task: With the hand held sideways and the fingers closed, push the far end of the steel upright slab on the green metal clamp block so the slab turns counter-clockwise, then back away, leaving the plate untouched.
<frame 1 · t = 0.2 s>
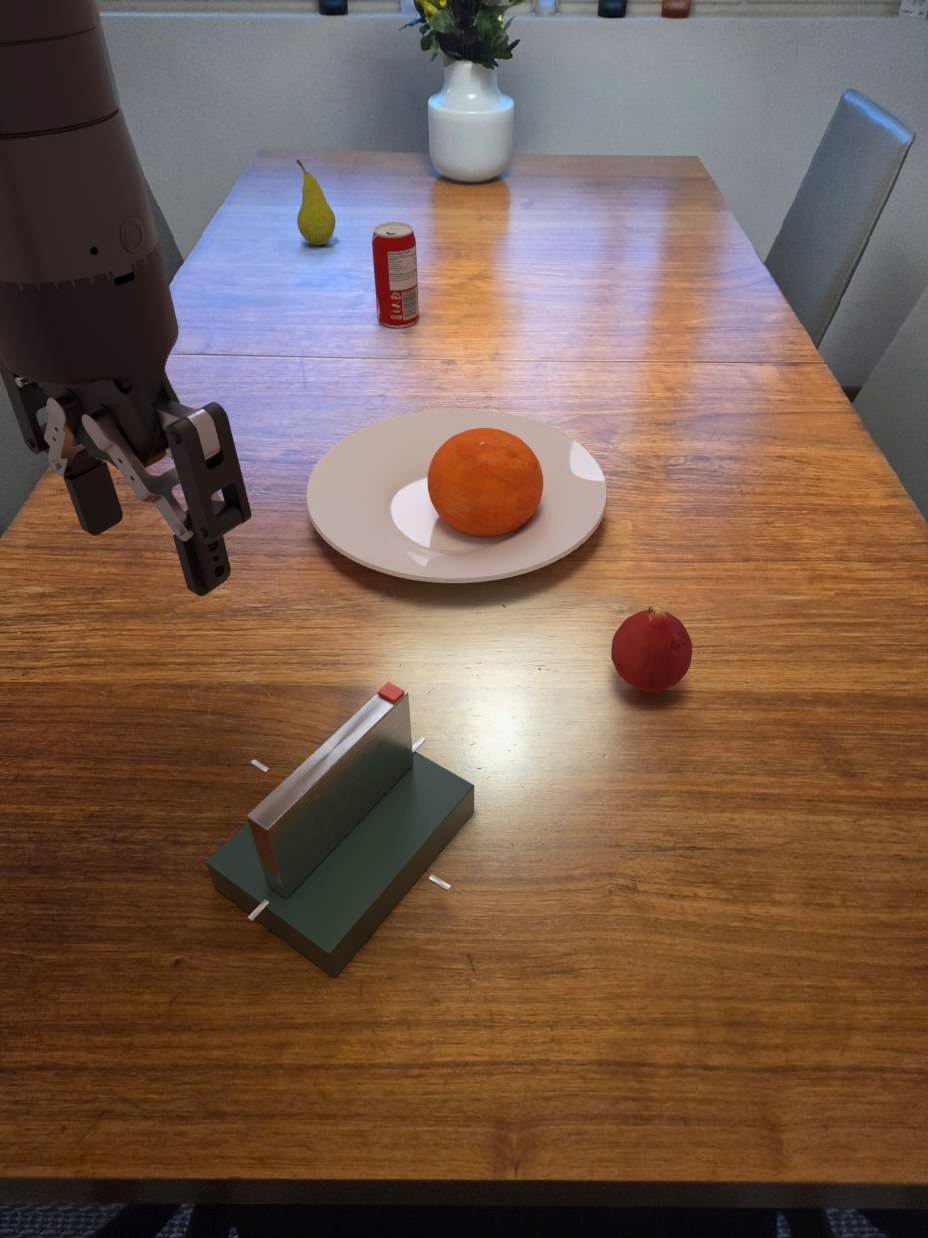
hand: (155, 555, 46), 20 cm above the table, tool pointing down, fingers open, 8 cm apart
plate: (456, 514, 84), on the table
clamp block: (349, 848, 56), on the table
fruit: (319, 245, 137), on the table
soda can: (398, 321, 116), on the table
upright slab: (338, 786, 52), point 7 cm above the table, hinge at 0.0°
onion: (644, 687, 67), on the table
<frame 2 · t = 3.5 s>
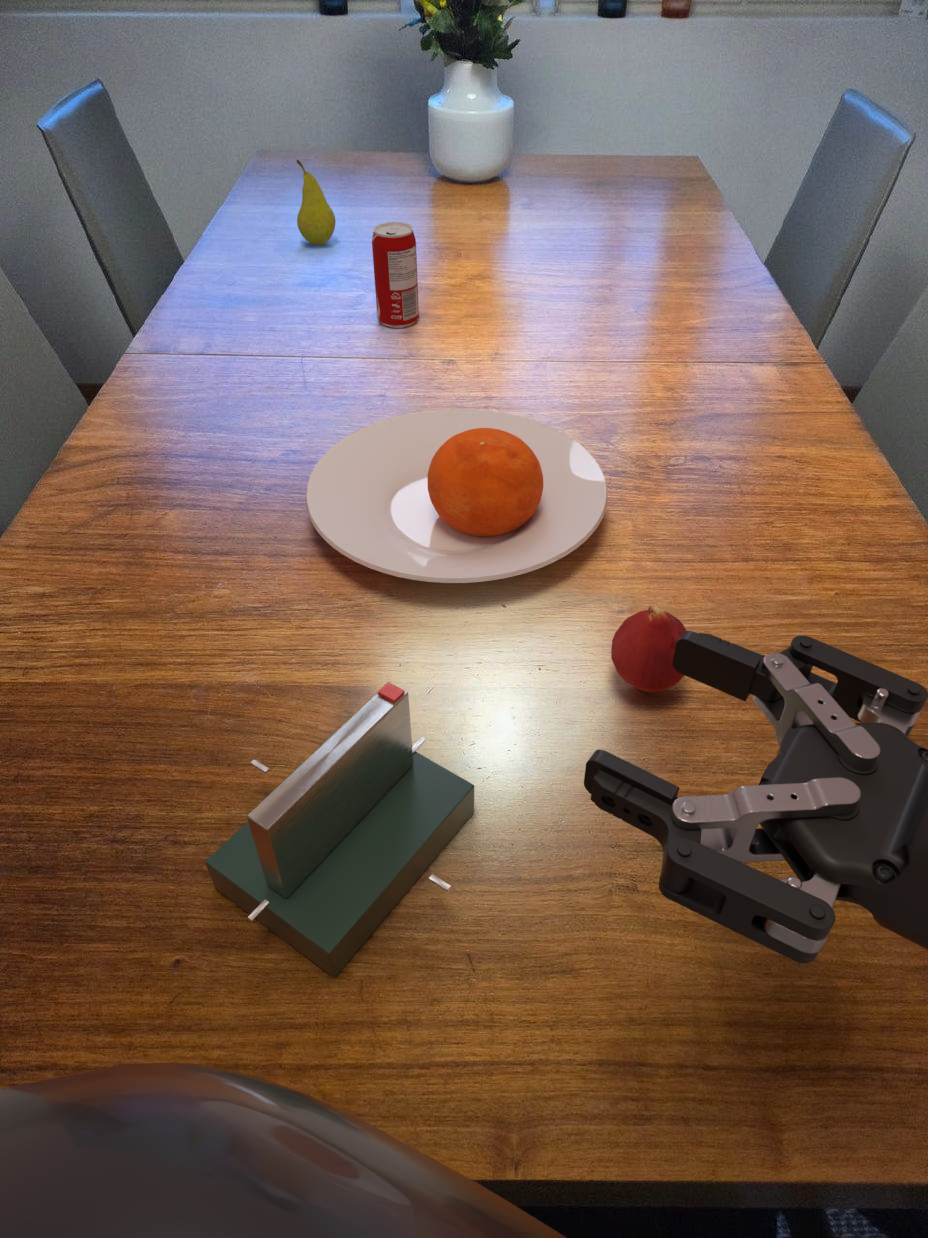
hand: (635, 704, 39), 20 cm above the table, tool horizontal, fingers open, 8 cm apart
nothing on the table moved.
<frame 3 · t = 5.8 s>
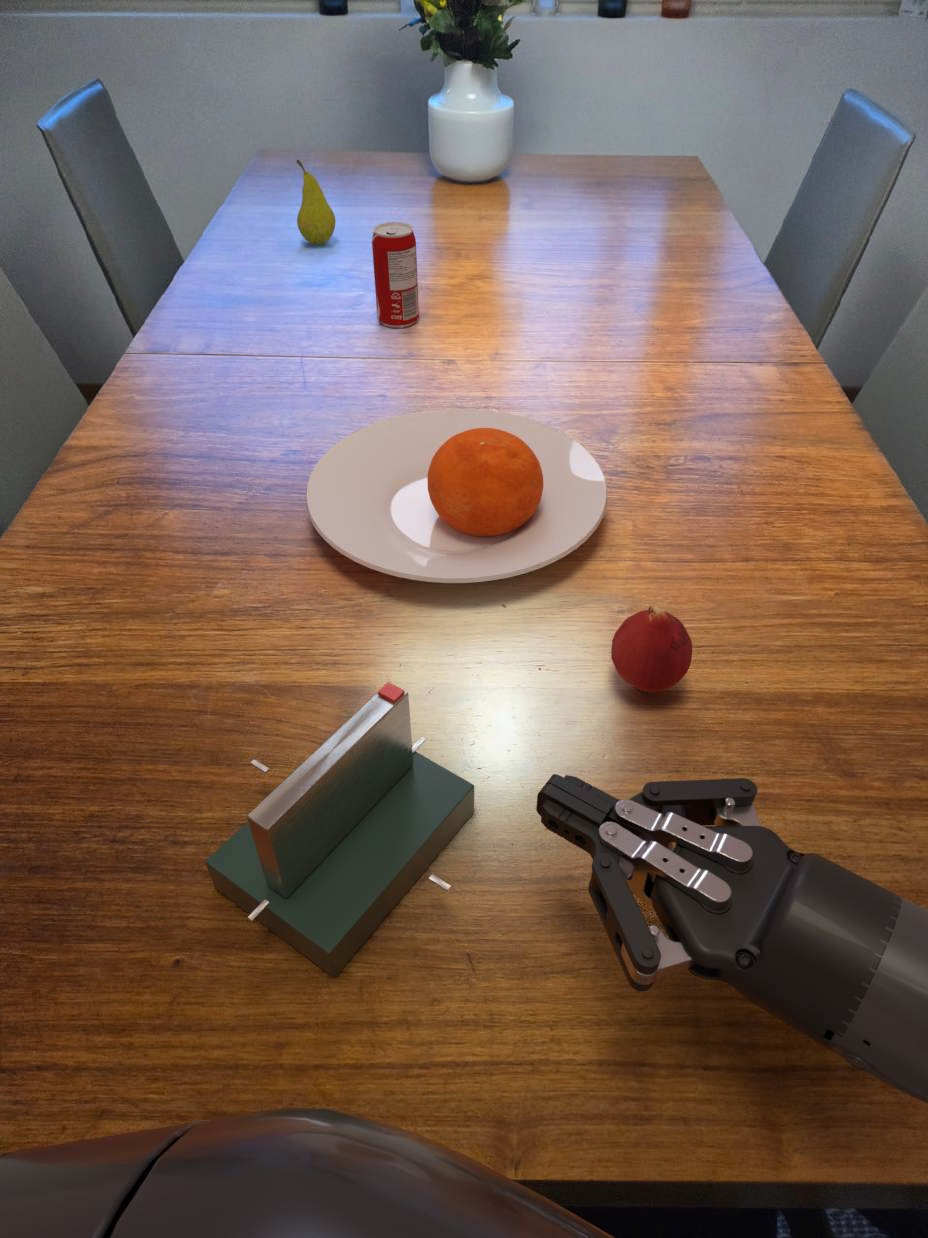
hand: (544, 793, 47), 11 cm above the table, tool horizontal, fingers closed
nothing on the table moved.
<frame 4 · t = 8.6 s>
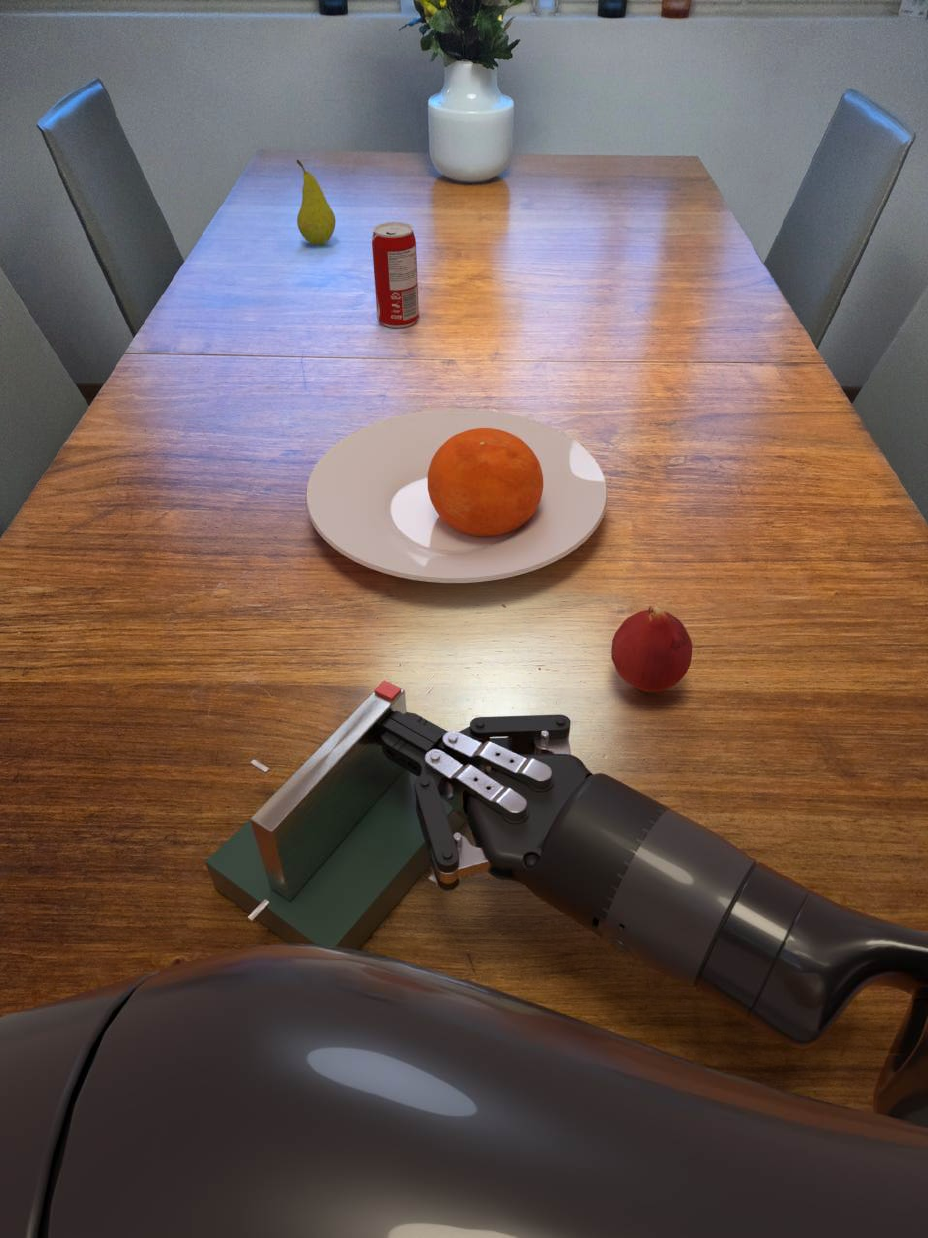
hand: (387, 727, 53), 8 cm above the table, tool horizontal, fingers closed
upright slab: (338, 786, 52), point 7 cm above the table, hinge at 2.8°, touching gripper
everything else where it was.
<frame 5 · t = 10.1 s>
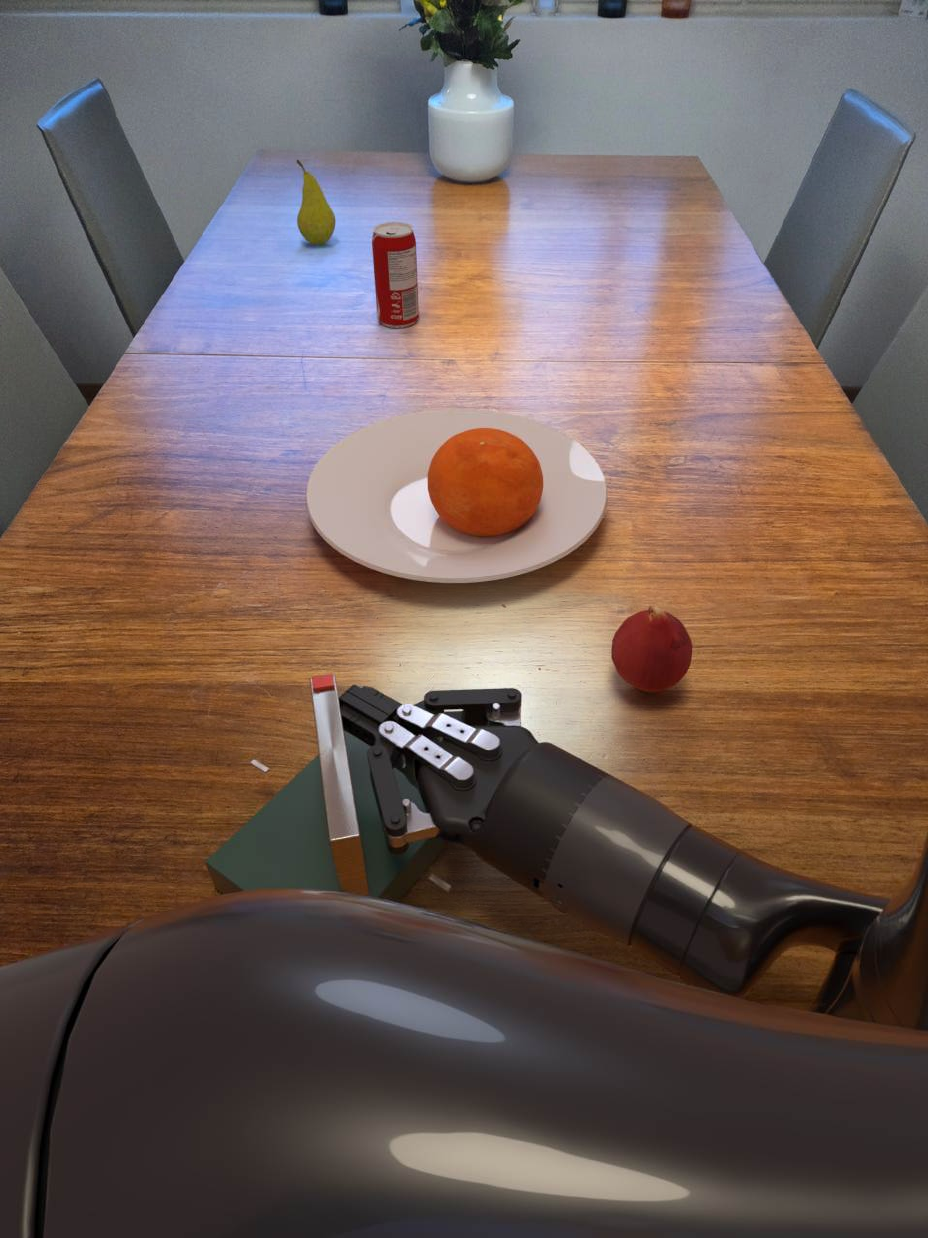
hand: (345, 701, 55), 8 cm above the table, tool horizontal, fingers closed
upright slab: (338, 786, 52), point 7 cm above the table, hinge at 48.0°, touching gripper
everything else where it was.
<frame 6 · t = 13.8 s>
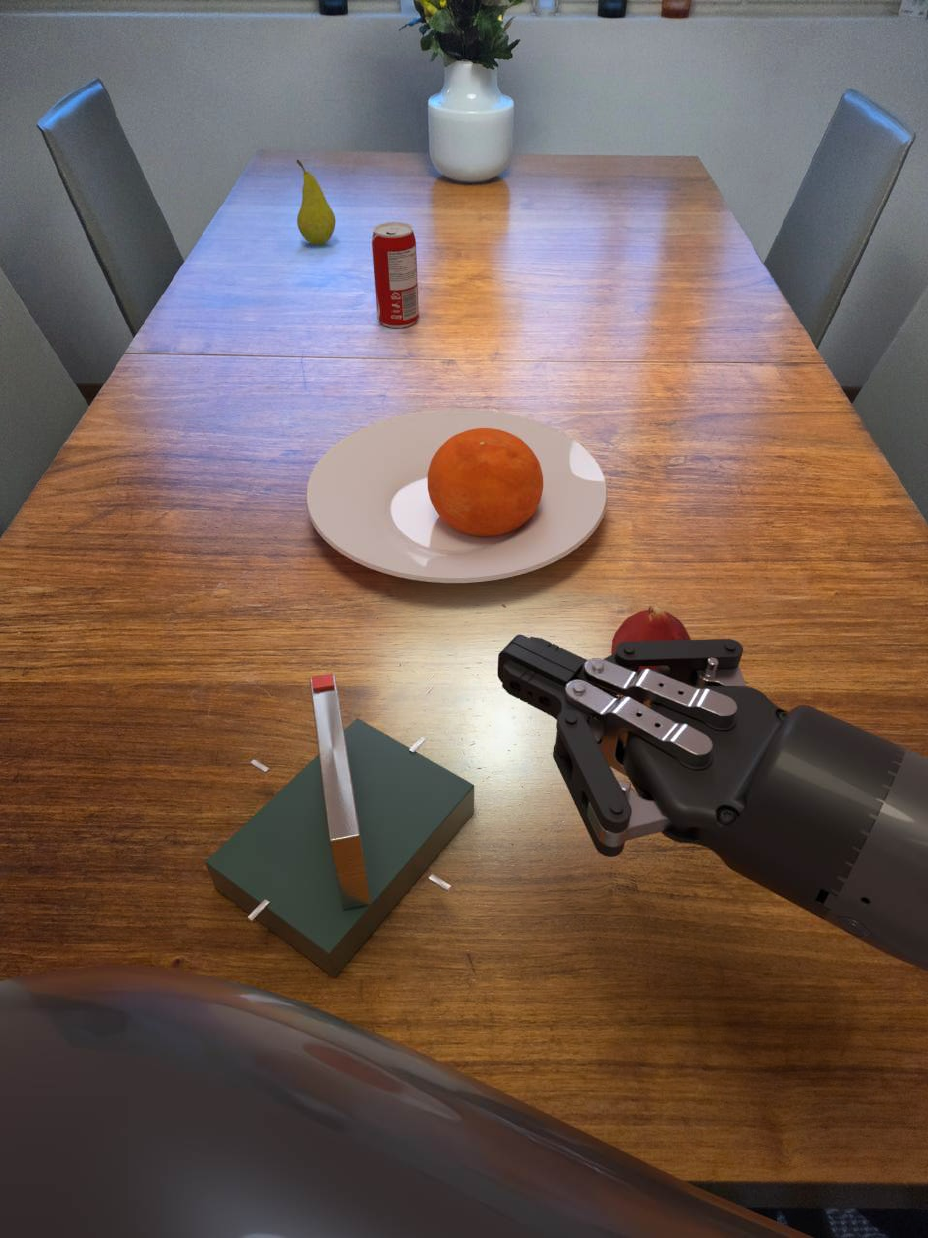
hand: (506, 657, 42), 19 cm above the table, tool horizontal, fingers closed
upright slab: (338, 786, 52), point 7 cm above the table, hinge at 48.1°
everything else where it was.
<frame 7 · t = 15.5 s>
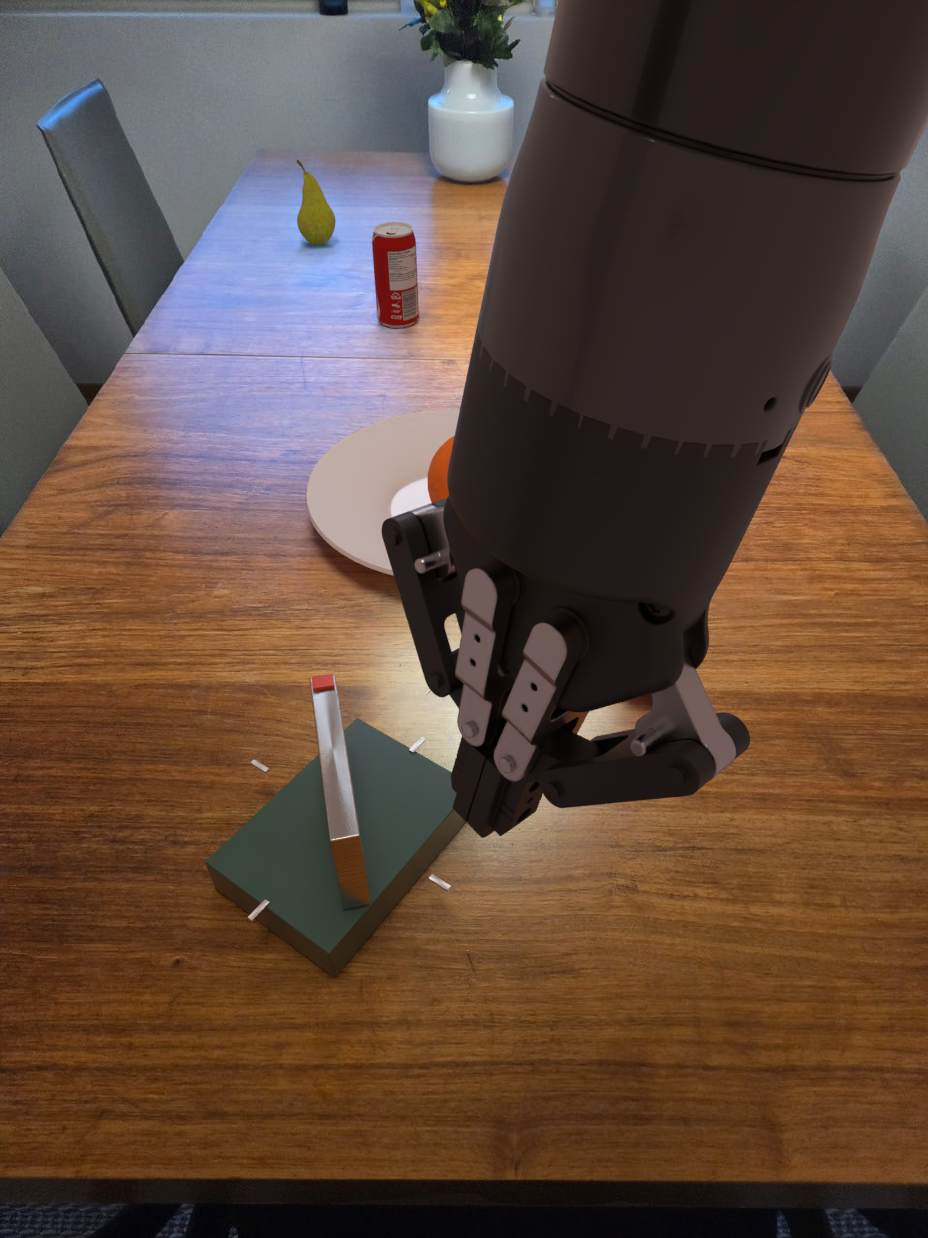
hand: (487, 813, 31), 23 cm above the table, tool pointing down, fingers closed
nothing on the table moved.
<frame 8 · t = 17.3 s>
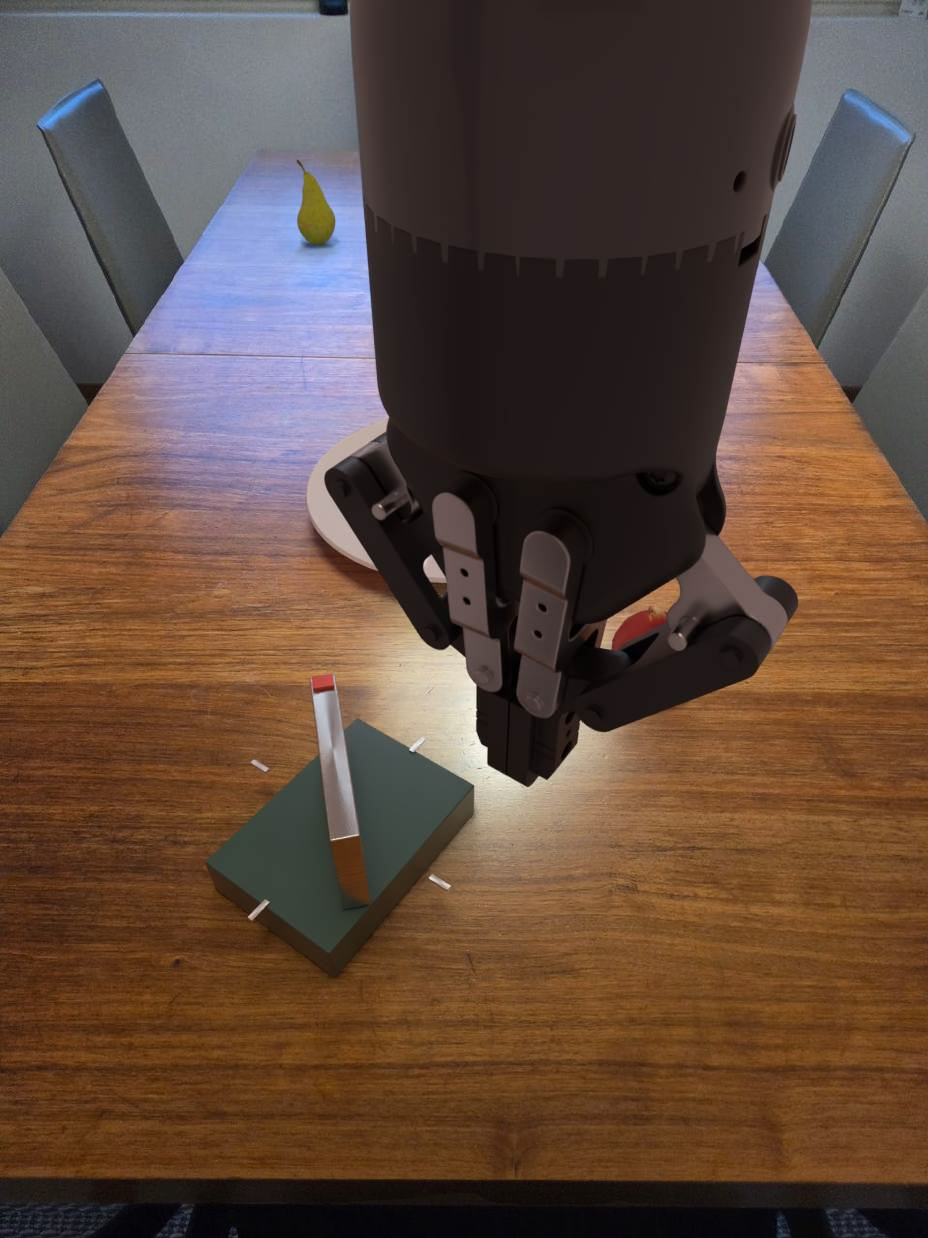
hand: (525, 759, 28), 27 cm above the table, tool pointing down, fingers closed
nothing on the table moved.
at the end: upright slab at +48° (first picture: +0°); plate moved 0.2 cm from its start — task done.
